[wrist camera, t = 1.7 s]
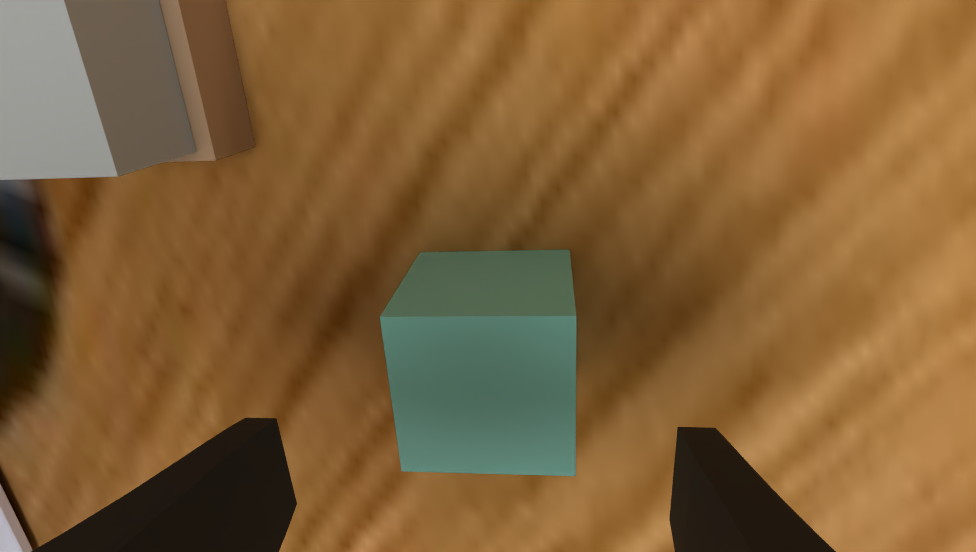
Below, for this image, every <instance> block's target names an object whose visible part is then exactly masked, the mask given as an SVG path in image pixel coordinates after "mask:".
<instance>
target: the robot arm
mask: <svg viewBox="0 0 976 552" xmlns="http://www.w3.org/2000/svg"><path fill="white" fill-rule="evenodd" d="M296 505H297V502H296V498H295V494H294V490H293V486H292V482H291V477H290V473H289V469H288V465H287V461H286V456H285V452H284V448H283V444H282V440H281V436H280V431H279V427H278V423H277V419H276V418H245V419H243V420H241V421H239V422H237V423H236V424H234V425H232V426H231V427H229V428H227V429H226V430H224V431H223V432H221V433H219V434H218V435H216V436H215V437H213V438H212V439H210V440H208V441H207V442H205V443H204V444H202V445H201V446H199V447H198V448H196V449H195V450H193V451H192V452H190V453H189V454H187V455H186V456H184V457H183V458H181V459H180V460H178V461H177V462H175V463H174V464H172V465H171V466H169V467H168V468H166V469H164V470H163V471H161V472H160V473H158V474H157V475H155V476H154V477H152V478H151V479H149V480H148V481H146V482H145V483H143V484H142V485H140V486H139V487H137V488H136V489H134V490H132V491H131V492H129V493H128V494H126V495H124V496H123V497H121V498H120V499H118V500H116V501H115V502H113V503H111V504H110V505H108V506H107V507H105V508H103V509H102V510H100V511H99V512H97V513H95V514H94V515H92V516H90V517H89V518H87V519H86V520H84V521H82V522H81V523H79V524H77V525H76V526H74V527H73V528H71V529H69V530H68V531H66V532H64V533H63V534H61V535H59V536H58V537H56V538H54V539H52V540H51V541H49V542H47V543H46V544H44V545H42V546H40V547H38V548H37V549H35V550H32V548H31V545H30V543H29V541H28V539H27V537H26V535H25V533H24V531H23V529H22V527H21V525H20V523H19V521H18V519H17V517H16V515H15V513H14V511H13V509H12V507H11V505H10V502H9V500H8V498H7V496H6V494H5V492H4V490H3V488H2V486H1V484H0V552H279V550H280V547H281V545H282V542H283V540H284V537H285V535H286V532H287V529H288V527H289V524H290V521H291V519H292V516H293V513H294V510H295V508H296ZM670 525H671V531H672V536H673V542H674V548H675V552H836V551H834V550H833V549H832V548H831V547H830V546H829V545H828V544H827V543H826V542H825V541H824V540H823V539H822V538H821V537H820V536H819V535H818V534H817V533H816V532H815V531H814V530H813V529H812V528H811V527H810V526H809V525H808V524H807V523H806V522H805V521H804V520H803V519H802V518H801V517H800V516H799V515H798V514H797V513H796V512H795V511H794V510H793V509H792V508H791V507H790V506H789V505H788V504H787V503H786V502H785V501H784V500H783V499H782V498H781V497H780V496H779V495H778V494H777V493H776V492H775V491H774V490H773V489H772V488H771V487H770V486H769V485H768V484H767V483H766V482H765V481H764V480H763V478H762V477H761V476H760V475H759V474H758V473H757V472H756V471H755V470H754V469H753V468H752V467H751V466H750V465H749V463H748V462H747V461H746V460H745V459H744V458H743V457H742V456H741V455H740V454H739V453H738V452H737V450H736V449H735V448H734V447H733V446H732V445H731V444H730V443H729V442H728V441H727V440H726V439H725V437H724V436H723V435H722V434H721V433H720V432H719V431H718V430H717V429H716V428H696V427H678V430H677V442H676V453H675V464H674V475H673V486H672V497H671V509H670Z"/></svg>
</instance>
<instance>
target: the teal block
mask: <svg viewBox="0 0 976 552" xmlns="http://www.w3.org/2000/svg"><path fill="white" fill-rule="evenodd" d="M380 323H381V330H382V337H383V344H384V351H385V358H386V365H387V372H388V379H389V386H390V393H391V400H392V407H393V414H394V421H395V428H396V435H397V442H398V450H399V457H400V464H401V471H409V472H445V473H481V474H517V475H553V476H576V307H575V297H574V287H573V278H572V268H571V258H570V250H513V251H455V252H420V253H419V255H418V256H417V258H416V259H415V261H414V263H413V264H412V266H411V267H410V269H409V271H408V272H407V274H406V275H405V277H404V279H403V280H402V282H401V283H400V285H399V287H398V288H397V290H396V292H395V293H394V295H393V296H392V298H391V300H390V301H389V303H388V304H387V306H386V308H385V309H384V311H383V312H382V314H381V316H380Z"/></svg>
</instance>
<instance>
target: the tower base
mask: <svg viewBox="0 0 976 552" xmlns="http://www.w3.org/2000/svg"><path fill="white" fill-rule="evenodd" d="M159 3H160V7H161V11H162V15H163V20H164V24H165V28H166V32H167V36H168V40H169V44H170V48H171V52H172V56H173V60H174V64H175V68H176V72H177V76H178V80H179V84H180V88H181V92H182V96H183V100H184V104H185V108H186V112H187V116H188V120H189V124H190V128H191V132H192V136H193V140H194V144H195V148H196V152H195V153H192V154H188V155H185V156H182V157H179V158H176V159H172V160H169V161H166V162H185V161H214V160H218V159H221V158H224V157H227V156H230V155H233V154H236V153H238V152H241V151H244V150H247V149H250V148H253V147H255V142H254V137H253V133H252V128H251V123H250V118H249V113H248V108H247V103H246V99H245V94H244V89H243V84H242V79H241V74H240V69H239V64H238V60H237V55H236V50H235V45H234V40H233V35H232V30H231V25H230V21H229V16H228V11H227V6H226V1H225V0H159Z"/></svg>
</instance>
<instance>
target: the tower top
mask: <svg viewBox="0 0 976 552" xmlns="http://www.w3.org/2000/svg"><path fill="white" fill-rule="evenodd" d="M195 152H196V148H195V144H194V140H193V136H192V132H191V128H190V124H189V120H188V116H187V112H186V108H185V104H184V100H183V96H182V92H181V88H180V84H179V80H178V76H177V72H176V68H175V64H174V60H173V56H172V52H171V48H170V44H169V40H168V36H167V32H166V28H165V24H164V20H163V15H162V11H161V7H160V3H159V0H0V180H15V179H49V178H84V177H118V176H121V175H124V174H128V173H131V172H134V171H137V170H140V169H144V168H147V167H150V166H153V165H156V164H160V163H163V162H166V161H169V160H172V159H176V158H179V157H182V156H185V155H188V154H192V153H195Z"/></svg>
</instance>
